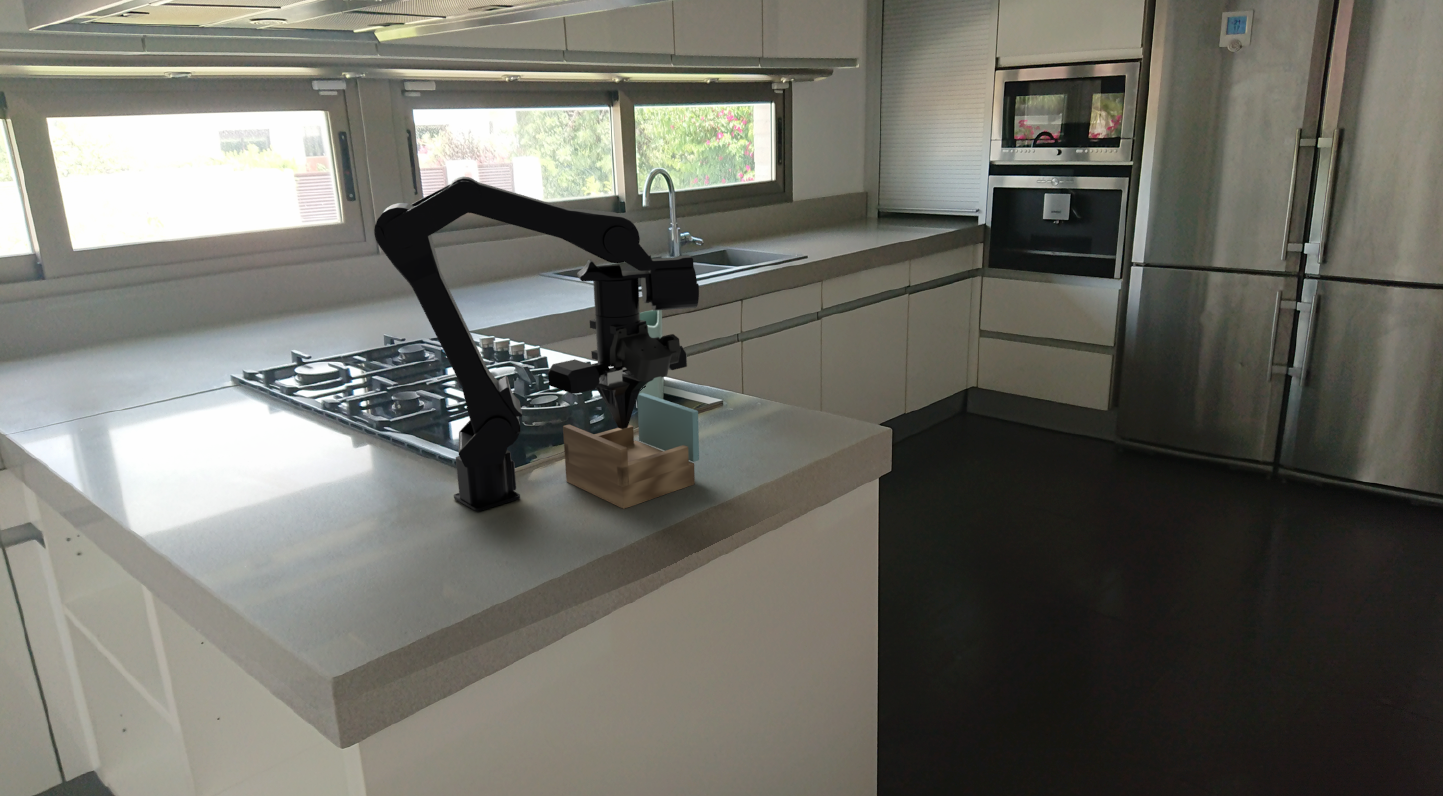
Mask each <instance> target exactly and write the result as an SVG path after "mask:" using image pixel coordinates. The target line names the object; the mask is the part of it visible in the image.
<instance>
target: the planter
mask: <svg viewBox="0 0 1443 796" xmlns="http://www.w3.org/2000/svg"><path fill="white" fill-rule="evenodd" d="M640 320H644V321H646V324H647V326H648V333H649V336H650V337H651V338H656V337H659V338H661V337H662V336H664V335H663V310H656V311H653V309H651V310H645V311H642V312H640ZM664 386H665V377H657V378H654V379H653V380H652V381H650V382H648V383H647V385H646V387H645V388H643V389H642V390H641V391H640V392H639V394H640V393H645V394H648V395H651V396H654V397H657V398H660V399H663V400H664Z"/></svg>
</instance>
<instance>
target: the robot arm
mask: <svg viewBox="0 0 1443 796" xmlns="http://www.w3.org/2000/svg"><path fill="white" fill-rule="evenodd" d="M466 214H472V215H473V214H474V215H477V216H479V217H480V216H481V217H483V218H488V219H491V220H495V221H499V222H501V223H504V224H509V225H513V226H516V227H519V228H523V229H526V230H531V231H533V232H538V233H541V234H543V235H544V234H545V235H547V236H551V237H556V238H559V239H562V240H563V241H566V242H568V243H570V244H572V245H573V246H575V247H578V248H580V249H582V250H583V251H585V252H587V253H589V254H592V255H594V256H596V257H597V258H600V259H601V260H604V261H606V262H608V263H611V264H605V265H597V264H595V262H594V261H593V260H592V259H588V260H587V262H586V264H585V265H584V267H582V268H581V269H580V270H579V271H578V272H576V273H577V274H576V275H577V277H578V278H579V279H580V281H581V282H593V299H594V300H593V301H594V317H595V319H591V320H589V328H590V329H593V330H595V337H596V349H595V350H591V353H590V354H591V359H592V360H595V361H597V362H595V363H587V362H584V361H581V360H578V359H575V358H574V359H570V360H566V361H561V362H557V363H553V364H552V365H551V367H549V370H548V372H547V376H548V377H547V378H548V379H547V380H548V386H550V387H553V388H556V389H559V390H561V391H563V392H566V393H569V394H581V393H584V392H588V391H589V392H590V391H594V390H597V391H598V394H599V395H600V396H601V398H602V399H603V401H604V403H605V405H606V407H607V409H608V410H609V413H610V415H611V417H612V418H613V421H614V422H615V424H616V426H617V428H620V429H625V428H627V427H628V425H630V421H631V417H632V415H633V413H634V412H633V411H634V409H635V405H636V402H637V397H638V395H639V392H640V390H641V389H642V387H644V386H645V385H646V384H647V383H648V382H650V381H652V380H653V379H654V378H657V377H664V378H665V377H667V376H668V373H669V371H675V370H678V369H682V368H687V367H688V353H687V352H686V350H685V348H684V347H683V346H682V345H681V343H680V338H679V337H678V336H676V335H675V334H674V333H671V334H665V335H663V336H662V337H661V338H659V337H656V338H651V337H650V336H649V333H648V326H647V324H646V321H644V320H640V313H641V312H640V289H641V297H642V301H643V304H650V307H651V310H653V311H656V310H662V311H666V310H667V311H670V310H683V309H684V310H686V309H697V307H698V305H699V300H700V299H699V297H700V295H699V294H700V288H699V287H700V285H699V283H698V280H697V274H696V273H697V272H696V270H695V267H694V258H693V257H692V256H690V255H687V254H686V255H678V256H675V257H662V258H660V257H659V258H652V255H651V254H650V253H649V252H647V251H646V250H645V249H644V248H643V247H642V246H641V245H640V240H641V237H640V233H639V231H638V228H637V227H636V224H635V223H634V222H632V221H631V220H629V219H628V218H627V217H625V216H624V215H622V214H620V213H618V212H614V211H603V210H596V209H585V208H583V209H582V208H572V207H564V206H561V205H558V204H555V203H551V202H548V201H544V200H540V199H537V198H534V197H530V196H527V195H525V194H524V195H523V194H521V193H517V192H514V191H511V190H510V191H509V190H507V189H503V188H501V187H500V188H499V187H496V186H492V185H491V184H485V183H483V182H479V181H478V180H475V179H474V178H472V177H469V176H459V177H457V178H455V179H454V180H452V181H451V183H449V184H447V185H446V186H444V187H442V188H440V189H438V190H436V191H434V192H432V193H430V194H428V195H426V196H425V197H422V198H421V199H419V200H417V201H414V202H413V203H411V204H410V203H405V202H398V203H394V204H391V205H390V206H388V207H386V208H385V209H384V210H383V212H382V213H381V214H380V215H379V217H378V218H377V220H376V222H375V224H374V229H373V231H374V238H375V240H376V243H377V245H378V246H379V248H380V249H381V250H382V252H383V253H384V254H385V256H386V258H388V260H389V261H390V262H391V264H392V265H393V267H394V268H395V269H396V270H397V271H398V272H399V274H400V275H401V276H402V277H403V278H404V280H406V282H407V283H408V284H409V285H410V287H411V288H412V290H413V292H414V294H415V296H416V298H417V300H418V302H419V304H420V306H421V308H422V310H423V312H424V314H425V316H426V318H427V320H428V321H429V324H430V326H431V328H432V330H433V332H434V334H435V336H436V338H437V340H438V342H439V344H440V346H441V348H442V350H443V352H444V354H445V356H446V358H447V361H448V362H449V364H450V366H451V368H452V370H453V372H454V375H455V376H456V378H457V380H458V382H459V384H460V386H461V387H460V388H461V389H462V394H463V397H464V402H465V405H466V409H467V410H466V411H467V414H468V417H469V420H468V422H467V423H466V424H465V425H463V427H462V428H461V429H459V431H458V455H457V456H456V457H455V464H456V474H457V475H456V476H457V483H458V484H457V485H458V492H457V493H454V494H453V499H454V500H456V501H457V502H459V503H461V504H463V505H464V506H466V507H468V508H470V509H471V510H473V511H474V512H481V511H485V510H488V509H490V508H494V507H497V506H500V505H504V504H507V503H508V504H509V503H510V502H513V501H514V502H515V501H517V500H520V499H521V494H520V493H518V492H516V491H517V490H516V489H517V479H516V466H515V461H514V460H512V456H511V451H510V450H508V448H509V447H510V446H512V445H514V444H515V442H516V441H517V440H518V438H519V436H520V433H521V423H520V418H522V417H523V412H522V407H521V402H520V399H519V398H518V397H516V396H515V395H514V393H513V391H512V388H511V385H510V382H509V381H510V380H509V378H508V376H507V375H504V376H503V377H501V378H500V379H497V378H496V377H495V375H493V374H492V372H491V371H490V370H489V368H488V367H487V365H486V362H485V361H484V358H483V356H482V355H481V352H480V350H479V348H478V345H477V344H476V342H475V339H474V338H473V336H472V334H471V332H470V330H469V327H468V326H467V323H466V321H465V319H464V317H463V315H462V313H461V311H460V309H459V307H458V305H457V303H456V301H455V299H454V296H453V295H452V293H451V290H450V288H449V286H448V284H447V282H446V280H445V278H444V275H443V274H442V271H441V268H440V265H439V264H440V263H439V261H438V260H439V259H438V256H437V253H436V248H435V244H434V240H433V237H432V235H433V234H435V233H436V232H438V231H440V230H442V229H443V228H445V227H446V226H448V225H449V224H451V223H453V222H455V221H456V220H457V219H459V218H461V217H462V216H465V215H466ZM623 263H625V264H628V265H629V266H630V267H633V268H634V269H636V270H622V267H621V265H620V264H623ZM639 279H641V280H640V284H641V285H640V286H641V287H640V289H639Z"/></svg>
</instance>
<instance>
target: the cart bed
mask: <svg viewBox="0 0 1443 796" xmlns="http://www.w3.org/2000/svg"><path fill="white" fill-rule="evenodd" d="M562 432H563V434H562V435H563V447H564V464H565V465H564V466H565V479H566V480H565V481H566V482H567V483H569V484H571V485H573V486H575V487H577V488H578V489H582V490H584V491H586V492H588V493H589V494H592V495H594V496H596V497H598V498H600V499H602V500H603V501H607V502H609V503H610V504H613V505H615V506H617V507H618V508H620V509H622V510H624V509H627V508H630V507H633V506H636V505H639V504H641V503H644V502H647V501H650V500H653V499H656V498H658V497H662V496H664V495H665V496H666V495H667V494H670V493H673V492H676V491H679V490H681V489H685V488H687V487H690V486H694V485H695V483H696V478H695V462H693V461H690V460H689V458H688V447H687V446H684V445H682V446H679V447H676V448H673V449H669V450H666V451H664V450H662V449H659V448H657V447H654V446H651V445H649V444H646V443H644V442H641V441H639V440H635V438H634V436H635V434H634V433H635V432H634V426H633V425H632V424H629V425H628V427H627V428H625V429H620V428H618V427H616V428H613V429H609V430H605V431H602V432H598V433H595V434H593V433H591V432H589V431H587V430H584V429H581V428H578V427H577V426H574V425H571V424H566V425H562Z"/></svg>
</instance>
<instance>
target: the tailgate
mask: <svg viewBox="0 0 1443 796" xmlns="http://www.w3.org/2000/svg"><path fill="white" fill-rule="evenodd" d="M636 402H637V420H638V422H637V423H638V442H641V443H643V444H646V445H649V446H651V447H654V448H656V449H659V450H661V451H666V450H669V449H673V448H676V447H679V446H682V445H684V446H687V447H688V458H689V462H692V463H695V462H697V461H699V460H700V440H699V439H700V437H699V410H696V409H693V408H690V407H687V406H684V405H681V404H678V403H676V402H671V401H669V400H666V399H664V398H663V399H660V398H657V397H654V396H651V395H648V394H645V393H640V394H639V395H638V397H637V400H636Z"/></svg>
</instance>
